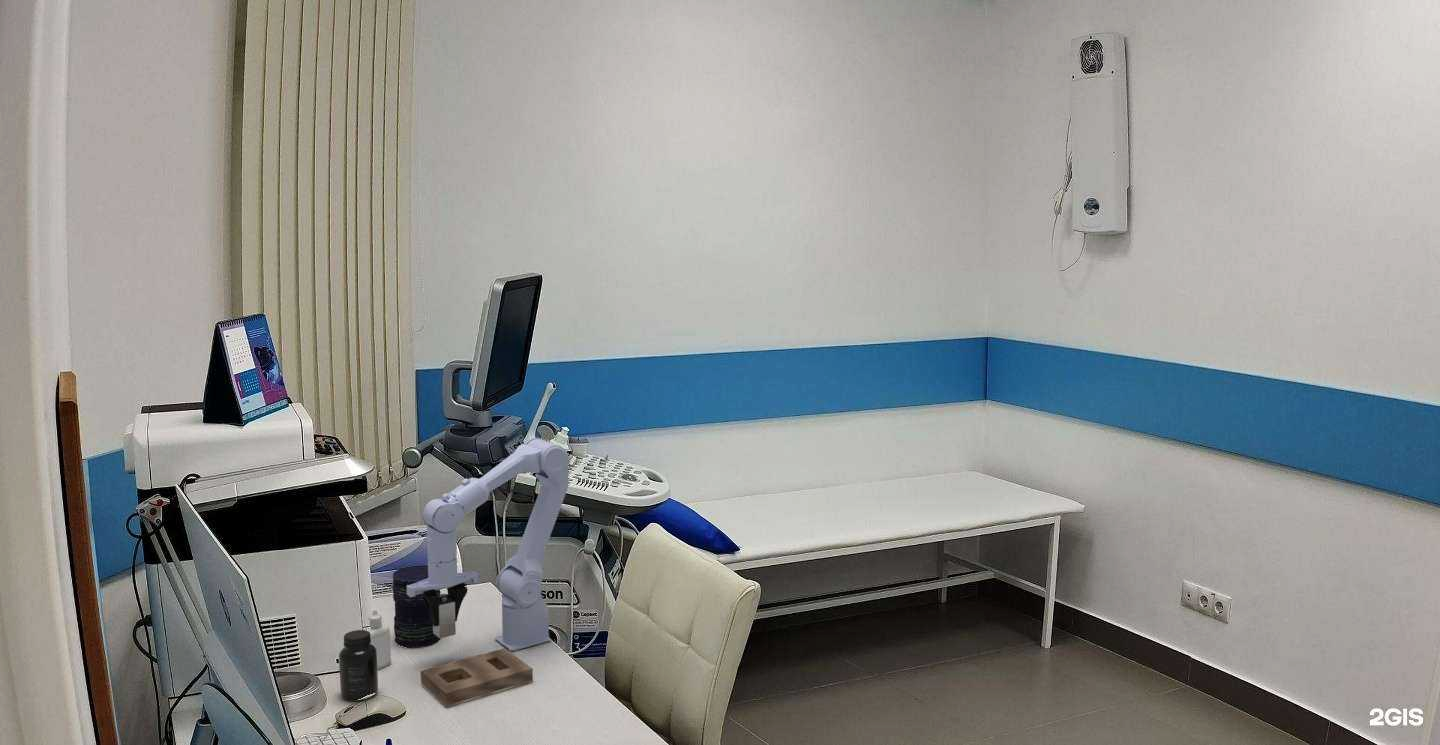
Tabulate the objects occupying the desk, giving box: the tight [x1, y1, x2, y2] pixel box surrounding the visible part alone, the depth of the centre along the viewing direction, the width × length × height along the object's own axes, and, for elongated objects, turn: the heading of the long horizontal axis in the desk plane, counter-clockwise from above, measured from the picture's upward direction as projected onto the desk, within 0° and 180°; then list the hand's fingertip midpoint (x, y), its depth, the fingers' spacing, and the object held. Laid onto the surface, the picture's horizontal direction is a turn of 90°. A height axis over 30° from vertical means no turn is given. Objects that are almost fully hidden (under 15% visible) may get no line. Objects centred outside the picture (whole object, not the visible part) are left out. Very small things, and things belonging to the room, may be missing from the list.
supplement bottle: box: [338, 629, 379, 702], centre depth 197 cm, size 7×7×12 cm
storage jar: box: [392, 564, 442, 649], centre depth 222 cm, size 10×10×15 cm
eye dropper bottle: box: [368, 608, 392, 671], centre depth 209 cm, size 4×6×12 cm
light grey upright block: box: [433, 593, 457, 639], centre depth 211 cm, size 3×3×8 cm
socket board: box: [420, 647, 534, 709], centre depth 203 cm, size 18×12×3 cm, turn 128°
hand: (444, 622), depth 211 cm, fingers closed on light grey upright block, 3 cm apart
